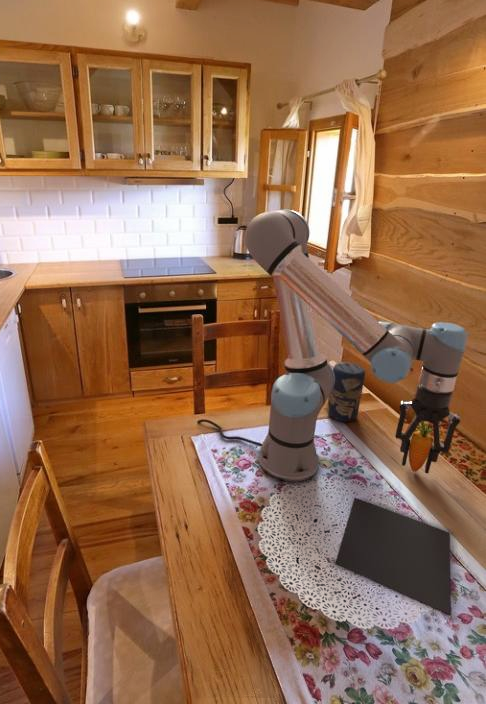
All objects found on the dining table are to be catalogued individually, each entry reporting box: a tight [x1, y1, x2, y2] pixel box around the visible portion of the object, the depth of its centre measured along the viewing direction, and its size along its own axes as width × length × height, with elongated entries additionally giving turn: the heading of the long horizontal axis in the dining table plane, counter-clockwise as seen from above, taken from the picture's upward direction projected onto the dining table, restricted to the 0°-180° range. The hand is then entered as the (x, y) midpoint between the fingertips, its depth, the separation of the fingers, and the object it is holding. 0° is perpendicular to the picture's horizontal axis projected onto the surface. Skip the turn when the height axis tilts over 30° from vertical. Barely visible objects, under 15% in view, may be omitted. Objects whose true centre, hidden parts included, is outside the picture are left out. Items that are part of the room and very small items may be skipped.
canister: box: [326, 361, 366, 422], centre depth 127 cm, size 10×10×18 cm
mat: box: [334, 497, 451, 616], centre depth 83 cm, size 20×20×1 cm
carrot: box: [408, 420, 434, 473], centre depth 103 cm, size 5×5×15 cm
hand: (415, 466), depth 105 cm, fingers closed on carrot, 5 cm apart
